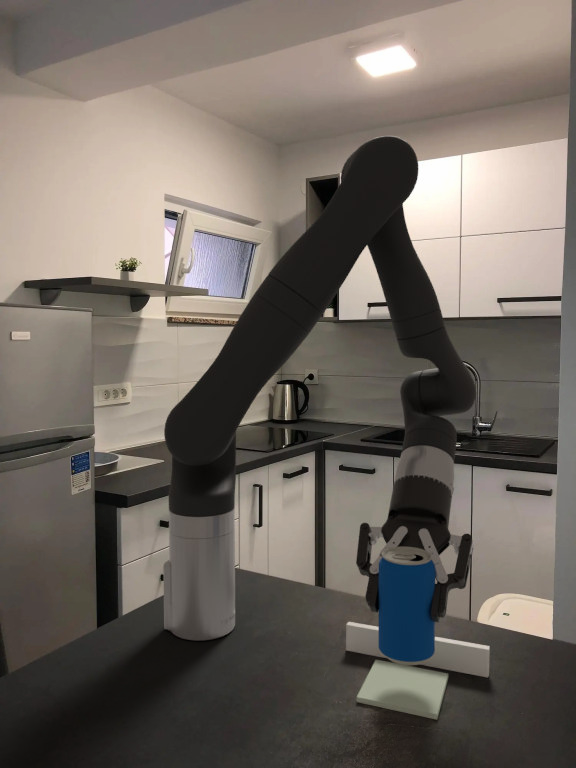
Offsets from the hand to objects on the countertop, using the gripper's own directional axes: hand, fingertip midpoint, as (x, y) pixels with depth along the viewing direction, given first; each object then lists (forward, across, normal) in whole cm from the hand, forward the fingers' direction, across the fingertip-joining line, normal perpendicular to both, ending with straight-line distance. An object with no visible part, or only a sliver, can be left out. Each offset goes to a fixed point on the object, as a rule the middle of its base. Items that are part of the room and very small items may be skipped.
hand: (403, 614), depth 72 cm
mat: (+6, 0, +8) cm, 10 cm away
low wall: (+1, 0, +13) cm, 13 cm away
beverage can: (+3, 0, +5) cm, 6 cm away
